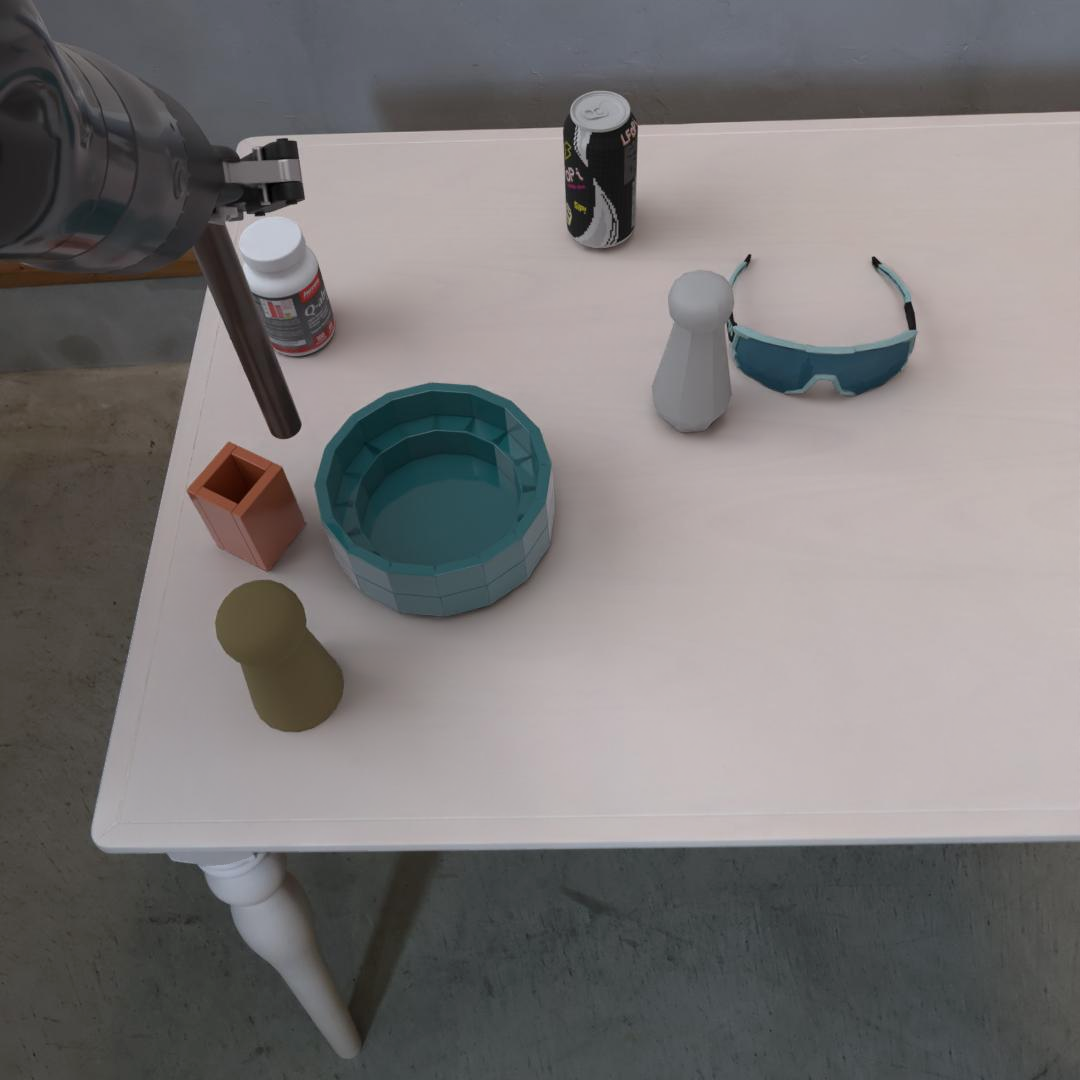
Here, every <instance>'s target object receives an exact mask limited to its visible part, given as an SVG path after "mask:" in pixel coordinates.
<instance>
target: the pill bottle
mask: <svg viewBox="0 0 1080 1080" xmlns="http://www.w3.org/2000/svg"><path fill="white" fill-rule="evenodd" d="M238 247H239V251H240V253H241V256H242V258H243V265H242V268H243V271H244V273H245V276H246V279H247V281H248V284H249V286H250V289H251V292H252V294H253V297H254V299H255V302H256V305H257V307H258V310H259V312H260V315H261V318H262V320H263V323H264V325H265V328H266V331H267V333H268V336H269V338H270V341H271V344H272V346H273V349H274V352H277V353H279V354H281V355H285V356H289V357H302V356H307V355H311V354H313V353H316V352H317V351H319V350H320V349H322V348H324V346H326V345H327V343H329V341H330V340H331V339H332V337H333V335H334V333H335V327H336V321H335V316H334V313H333V309H332V305H331V302H330V297H329V295H328V291H327V288H326V285H325V281H324V279H323V278H324V277H323V274H322V272H321V268H320V265H319V261H318V259H317V256H316V254H315V252H314V251H313V249H312V248H311V247H309V245H307V242H306V238H305V236H304V233H303V231H302V228H301V226H300V225H299V224H298V223H297V222H296V221H295V220H293V219H292V218H289V217H285V216H278V215H277V216H275V215H273V216H267V217H263V218H260V219H258V220H256V221H254V222H251V224H249V225H248V226H247V227H246V228H245V229H244V230H243V231H242V233H241V235H240V236H239V241H238Z"/></svg>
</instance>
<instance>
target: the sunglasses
mask: <svg viewBox="0 0 1080 1080" xmlns="http://www.w3.org/2000/svg"><path fill="white" fill-rule="evenodd" d="M751 259H752V254H751V253H748V254H747V256H746V257H745V259H744V260H743V261H742V262H741V263H740V264H739V265H738V266H737V267H736V268H735V269H734V271H733V273H732V275H731V276H730V278H729V279H728V280H727V281H728V282H729V283H730V284H731V286H732V289H733V288H734V285H735V282H736V281H737V279H738V278H739V277H740V275H741V274H742V273H743V272H744V271H745V270H746V268H748V266H749V264H750V262H751ZM871 265H872V266H873V267H874V268H875V269H876V270H877V271H878V272H879V273H880V274H881V275H883V276H884V277H886V278H887V279H888V281H890V282H891V283H892V285H893V286H894V287H895V288H896V290H897V291H898V292H899V294H900V296H901V297H902V300H903V310H904V314H905V319H906V324H907V327H908V330H905V331H903V332H901V333H898V334H896V335H894V336H892V337H891V338H890V337H889V338H886V339H883V340H879V341H874V342H870V343H863V344H856V345H851V346H820V345H819V346H817V345H811V344H805V343H800V342H794V341H791V340H786V339H783V338H778V337H775V336H771V335H766V334H764V333H761V332H759V331H755V330H754V329H752V328H750V327H748V326H745V325H744V326H743V325H741V326H740V325H738V322H736V321H735V318H734V316H735V315H734V310H733V311H732V313H731V315H730V317H729V319H728V321H727V323H726V329H727V331H726V332H727V338H728V341H729V342H730V343H729V347H730V349H731V357H732V359H733V361H734V363H735V366H736V368H737V369H740V371H742V372H743V373H744V374H745V375H747V376H749V377H750V378H752V379H754V380H755V381H757V382H758V383H760V384H762V385H763V386H765V387H766V388H768V389H771V390H774V391H776V392H780V393H782V394H784V395H791V394H793V395H794V394H805V393H806V392H807V391H808V390H809V389H810V388H812V387H813V386H814V385H815V384H816V383H817V382H819V381H829V382H831V383H832V385H833V387H834V390H835V391H836V392H837V394H838V395H845V396H850V397H856V396H859V395H861V394H863V393H865V392H868V391H870V390H873V389H875V388H878V387H881V386H883V385H884V384H886V383H887V382H888V381H890V380H891V379H892V378H894V377H895V376H896V375H897V374H899V373H902V371H903V370H904V368H905V367H906V365H907V364H908V362H909V358H910V356H911V355H912V353H913V351H914V348H915V343H916V339H917V335H918V333H919V330H917V322H916V321H917V319H916V312H915V309H914V306H913V303H912V300H913V299H912V293H911V292H910V290H909V289H908V287H907V286H906V285H905V283H904V282H903V280H902V279H901V278H900V276H899V275H897V274H896V273H895V272H894V271H893V270H892V269H890V268H889V267H888V266H887V265H885V264H883V263H882V262H881V261H880V260H879V259H878V258H877V257H876V256H874V255H873V256H871Z"/></svg>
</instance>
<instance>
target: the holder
mask: <svg viewBox="0 0 1080 1080" xmlns="http://www.w3.org/2000/svg"><path fill="white" fill-rule="evenodd" d="M185 492H186V493H187V495H188V497H189V498H190V501H192V503H193V506H194V507H195V509H196V511H197V513H198V515H199V516H200V518H201V519H202V522H203V523H204V525H205V527H206V529H207V531H208V532H209V534H210V536H211V537H212V540H213V541H214V543H215V545H216V546H217V547H218V548H221V549H222V550H225V551H226V552H227V553H230V554H232V555H234V556H235V557H237V558H240V559H242V561H243V560H244V561H246V562H247V563H249V564H252V565H253V566H255V567H257V568H260V569H261V570H263V571H265V572H269V571H270V570H271V569H272V567H273V566H274V565H275V564H276V562H277V561H278V560H279V559H280V557H281V556H282V555H283V554H284V552H285V551H286V550H287V548H288V547H289V546H290V545H291V543H292V542H293V541H294V540H295V538H296V537H297V536H298V535H299V533H301V531H302V529H303V528H304V527H305V526H306V524H307V522H306V520H305V517H304V515H303V512H302V510H301V507H300V505H299V502H298V501H297V498H296V496H295V493H294V491H293V488H292V486H291V484H290V481H289V479H288V476H287V474H286V472H285V469H284V468H283V466H282V465H280V464H278V463H275V462H274V461H271V460H269V459H267V458H265V457H263V456H261V455H259V454H256V453H254V452H252V451H250V450H248V449H246V448H244V447H242V446H240V445H238V444H235V443H234V442H231V441H228V442H227V443H226V444H225V445H224V446H223V447H222V448H221V449H220V450H219V452H218V453H217V454H216V455H215V457H213V459H212V460H211V461H210V462H209V463H208V464H207V465H206V467H205V468H204V469H203V470H202V471H201V472H200V474H198V476H197V477H196V479H194V480H193V482H192V483H191V484H190V485H189V486H188V488H186V491H185Z"/></svg>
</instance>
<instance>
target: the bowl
mask: <svg viewBox="0 0 1080 1080" xmlns="http://www.w3.org/2000/svg"><path fill="white" fill-rule="evenodd" d="M546 445H547V444H546V442H545V440H544V437H543V434H542V431H541V428H539V426H538V425H537V424H535V422H533V420H531V418H530V417H529V416H527V414H526V413H525V412H524V411H523V410H522V409H521V408H520V407H518V405H517V404H515V402H514V401H513V400H510V399H509V398H506V397H503V396H501V395H499V394H497V393H494V392H492V391H490V390H488V389H485V388H483V387H480V386H478V385H474V384H463V383H447V382H446V383H445V382H434V381H433V382H426V383H423V384H418V385H415V386H410V387H406V388H402V389H398V390H397V389H396V390H393V391H390V392H386V393H385V394H383V395H382V396H379V397H378V398H376V399H375V400H373V401H372V402H370V403H368V404H366V405H365V406H363V407H361V408H360V409H358V410H357V411H355V412H353V413H352V414H351V415H350V416H349V417H348V418H347V419H346V420H345V421H344V423H343V424H342V425H341V427H340V428H339V429H338V430H337V432H336V433H335V434H334V435H333V436H332V437H331V439H330V440H329V442H328V443H326V445H325V447H324V448H323V452H322V456H321V460H320V463H319V467H318V470H317V473H316V478H315V481H314V485H313V486H314V492H315V496H316V501H317V505H318V510H319V516H320V520H321V525H322V526H323V529H324V531H325V534H326V536H327V540H328V541H329V543H330V546H331V549H332V551H333V554H334V557H335V558H336V562H337V563H338V565H339V567H340V568H341V569H342V570H343V571H344V573H345V574H346V575H347V577H348V578H349V579H350V580H351V581H352V583H353V584H354V585H355V586H356V588H357V589H358V590H359V591H360V593H361V594H363V595H364V596H366V597H368V598H370V599H373V600H374V601H376V602H379V603H381V604H382V605H384V606H386V607H388V608H390V609H392V610H394V611H396V612H398V613H402V614H410V615H411V614H413V615H424V616H434V617H449V616H455V615H457V614H461V613H465V612H469V611H474V610H476V609H481V608H485V607H488V606H490V605H492V604H494V603H495V602H497V601H498V600H500V599H501V598H503V597H504V596H505V595H507V594H509V593H510V592H512V591H513V590H514V589H516V588H517V587H519V586H520V585H522V584H523V583H524V582H526V581H527V580H528V579H529V578H530V576H531V574H532V573H533V571H534V570H535V569H536V567H537V565H538V564H539V562H540V561H541V559H542V558H543V556H544V555H545V553H546V551H547V550H548V548H549V547H550V545H551V539H552V532H553V527H554V518H555V514H556V513H555V511H556V504H555V503H556V502H555V489H554V475H553V463H552V461H551V460H552V459H551V457H550V454H549V451H548V449H547V446H546Z"/></svg>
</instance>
